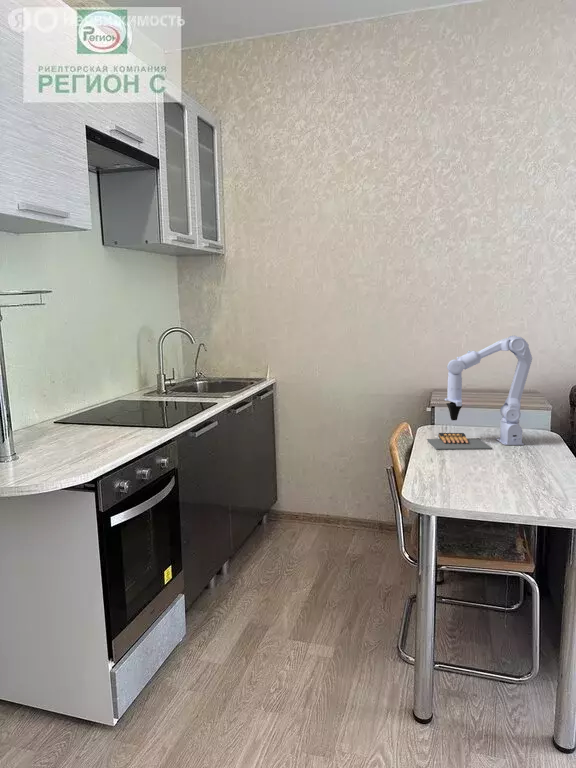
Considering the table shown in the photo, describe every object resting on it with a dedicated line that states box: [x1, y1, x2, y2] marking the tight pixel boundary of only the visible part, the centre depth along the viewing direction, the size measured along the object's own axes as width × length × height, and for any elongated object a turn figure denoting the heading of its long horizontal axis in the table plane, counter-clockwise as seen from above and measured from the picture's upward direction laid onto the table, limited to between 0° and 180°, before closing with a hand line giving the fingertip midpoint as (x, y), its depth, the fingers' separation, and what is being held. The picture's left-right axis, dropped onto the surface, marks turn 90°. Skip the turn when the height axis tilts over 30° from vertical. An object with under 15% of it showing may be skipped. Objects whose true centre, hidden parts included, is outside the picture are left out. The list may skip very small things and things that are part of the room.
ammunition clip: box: [438, 432, 468, 443], centre depth 225 cm, size 11×2×12 cm
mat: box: [426, 437, 493, 451], centre depth 221 cm, size 16×22×1 cm
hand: (453, 420), depth 227 cm, fingers closed
